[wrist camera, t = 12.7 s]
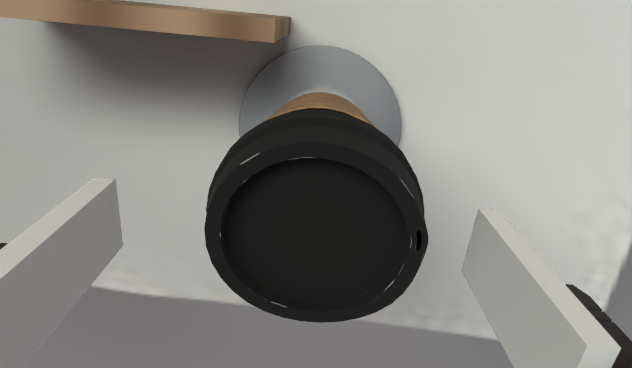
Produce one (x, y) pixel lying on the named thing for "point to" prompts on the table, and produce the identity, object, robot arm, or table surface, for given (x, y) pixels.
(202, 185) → the table surface
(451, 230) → the table surface
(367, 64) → the coaster
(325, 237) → the coffee cup
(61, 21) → the wooden c-shaped bracket
